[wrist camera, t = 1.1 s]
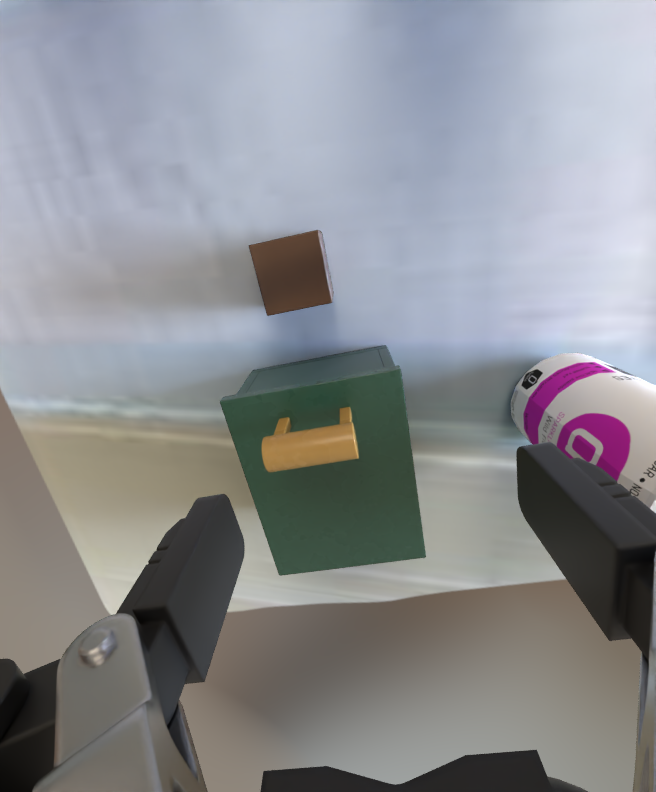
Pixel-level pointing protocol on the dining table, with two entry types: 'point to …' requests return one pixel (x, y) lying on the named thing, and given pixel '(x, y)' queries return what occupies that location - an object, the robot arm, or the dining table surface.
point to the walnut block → (292, 272)
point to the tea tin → (318, 369)
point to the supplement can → (592, 417)
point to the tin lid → (330, 470)
